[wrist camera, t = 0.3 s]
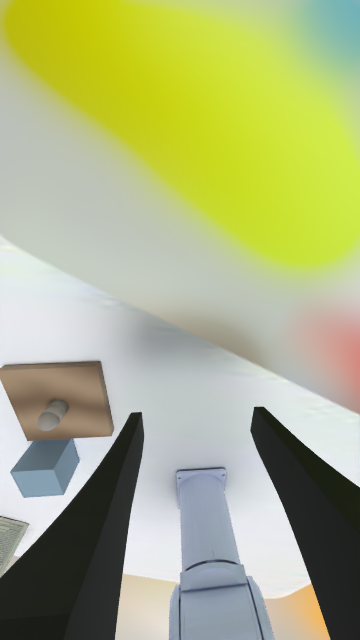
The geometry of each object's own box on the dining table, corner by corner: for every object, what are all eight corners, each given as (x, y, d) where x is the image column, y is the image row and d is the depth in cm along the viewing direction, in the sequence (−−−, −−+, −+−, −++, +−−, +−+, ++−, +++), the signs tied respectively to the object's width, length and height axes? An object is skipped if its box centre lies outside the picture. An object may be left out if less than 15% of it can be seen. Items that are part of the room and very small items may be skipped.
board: (113, 429, 24) (103, 459, 20) (33, 433, 24) (7, 465, 20) (100, 361, 20) (84, 383, 17) (4, 365, 20) (-33, 389, 16)
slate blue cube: (79, 460, 26) (63, 494, 22) (45, 462, 26) (23, 497, 22) (71, 436, 24) (53, 469, 20) (35, 438, 24) (10, 472, 20)
